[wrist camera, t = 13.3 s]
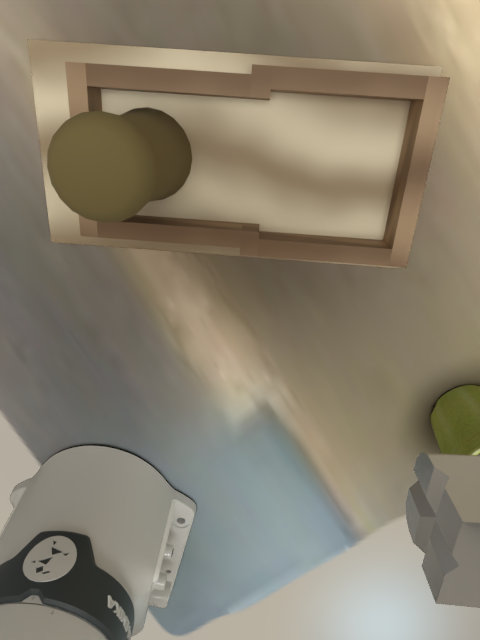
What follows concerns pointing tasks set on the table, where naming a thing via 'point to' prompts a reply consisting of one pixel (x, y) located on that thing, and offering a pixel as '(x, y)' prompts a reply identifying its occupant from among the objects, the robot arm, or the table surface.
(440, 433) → the plant pot
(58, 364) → the table surface
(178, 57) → the wooden tray
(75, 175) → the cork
